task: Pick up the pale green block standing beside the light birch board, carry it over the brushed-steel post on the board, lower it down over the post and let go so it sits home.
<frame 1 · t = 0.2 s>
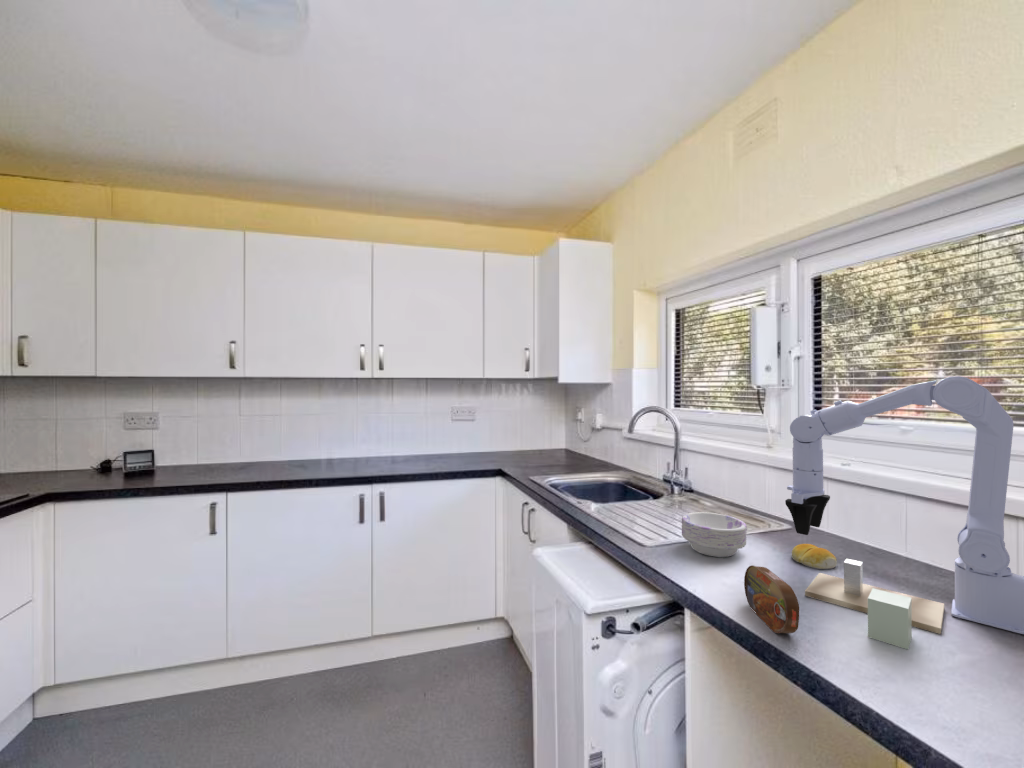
hand: (808, 529, 102), 10 cm above the countertop, tool pointing down, fingers open, 7 cm apart
board: (872, 602, 89), on the countertop
tin: (770, 621, 83), on the countertop
post: (853, 597, 91), resting on board
pale green block: (889, 636, 77), on the countertop
paper bowls: (713, 551, 117), on the countertop
bread roll: (813, 563, 109), on the countertop
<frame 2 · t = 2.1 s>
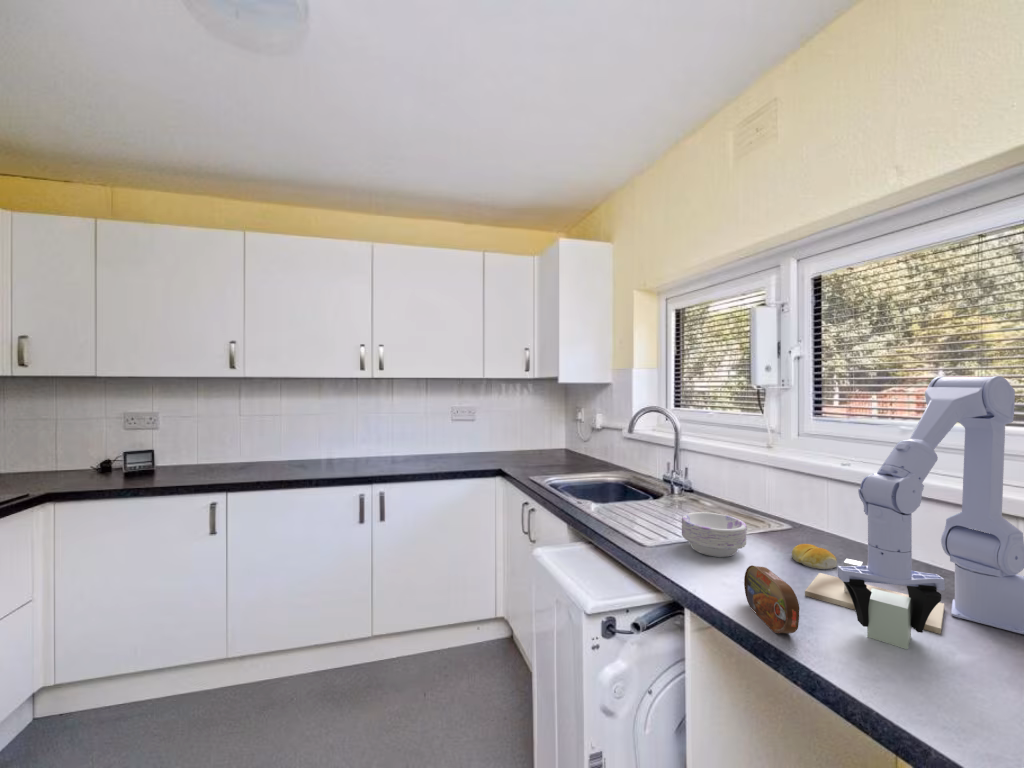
hand: (889, 626, 77), 2 cm above the countertop, tool pointing down, fingers open, 7 cm apart
pale green block: (889, 636, 77), on the countertop, touching gripper
everything else where it was.
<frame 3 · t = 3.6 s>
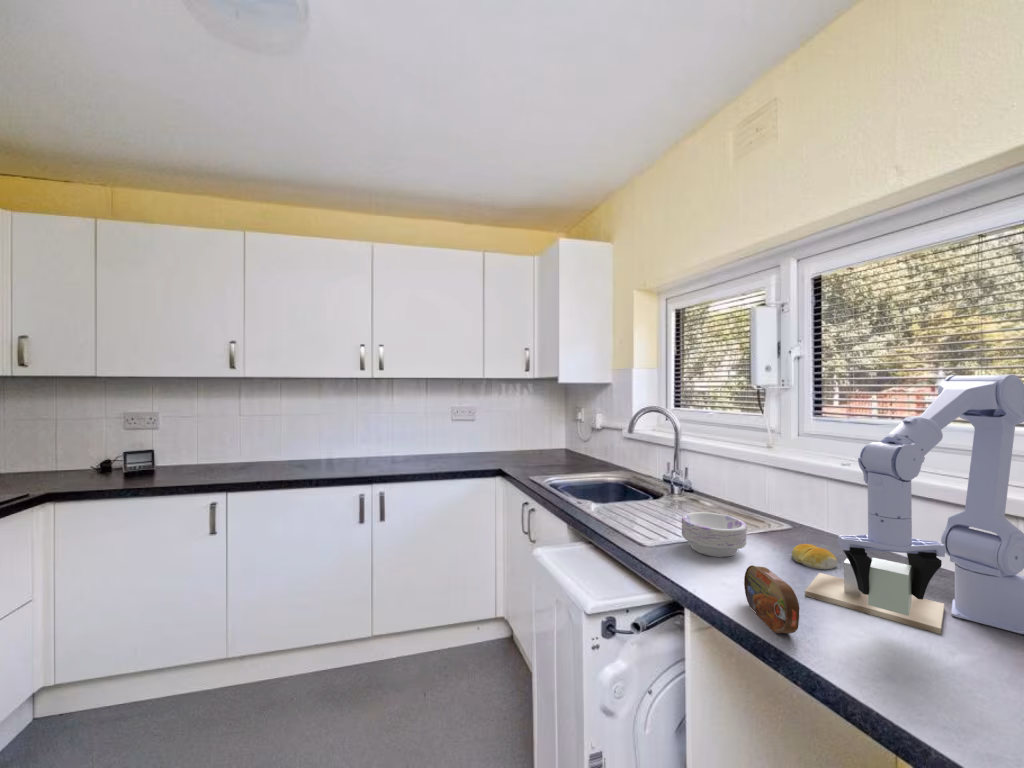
hand: (889, 594, 77), 7 cm above the countertop, tool pointing down, fingers closed on pale green block, 7 cm apart
pale green block: (889, 604, 77), point 5 cm above the countertop, touching gripper
everything else where it was.
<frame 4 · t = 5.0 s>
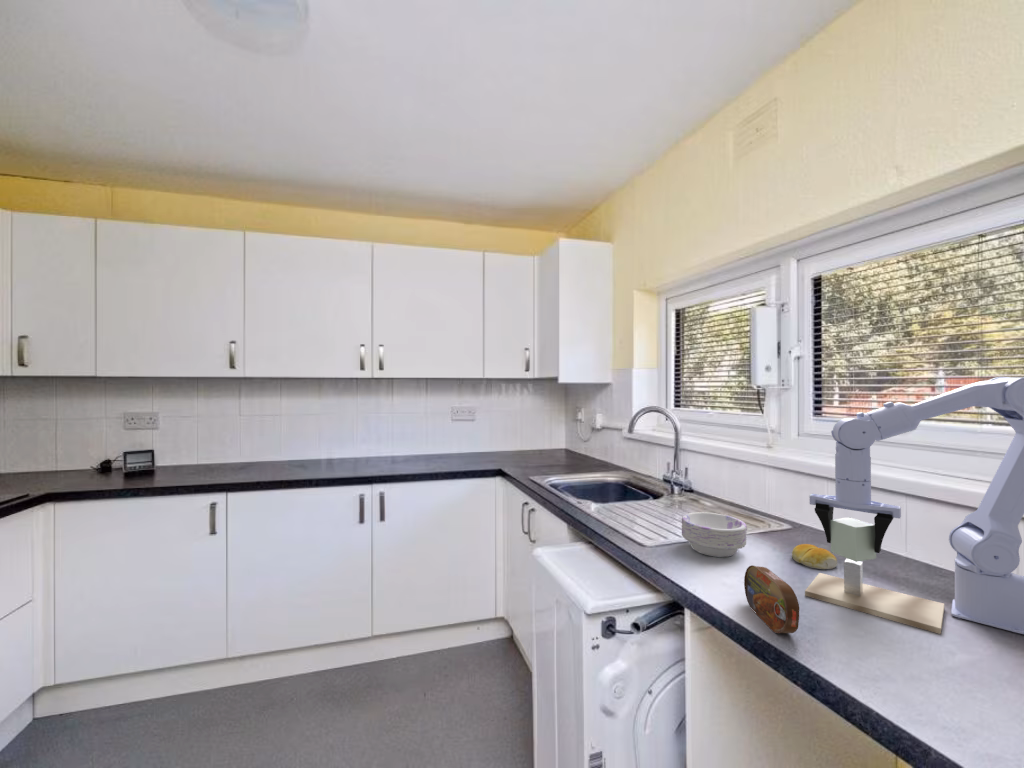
hand: (853, 546, 91), 10 cm above the countertop, tool pointing down, fingers closed on pale green block, 7 cm apart
pale green block: (853, 555, 91), point 8 cm above the countertop, touching gripper
everything else where it was.
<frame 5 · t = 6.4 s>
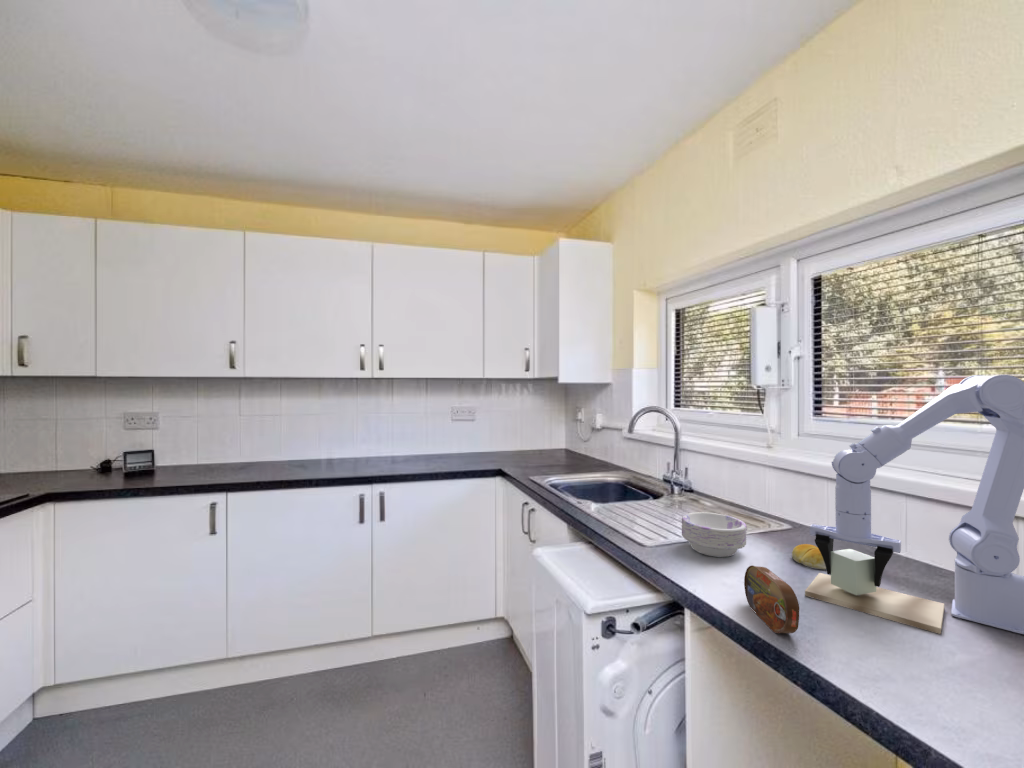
hand: (853, 578, 91), 4 cm above the countertop, tool pointing down, fingers closed on pale green block, 7 cm apart
pale green block: (853, 587, 91), point 2 cm above the countertop, touching gripper
everything else where it was.
when the fingers open (3 cm above the countertop, at t = 7.7 s): pale green block stays where it is, resting on board.
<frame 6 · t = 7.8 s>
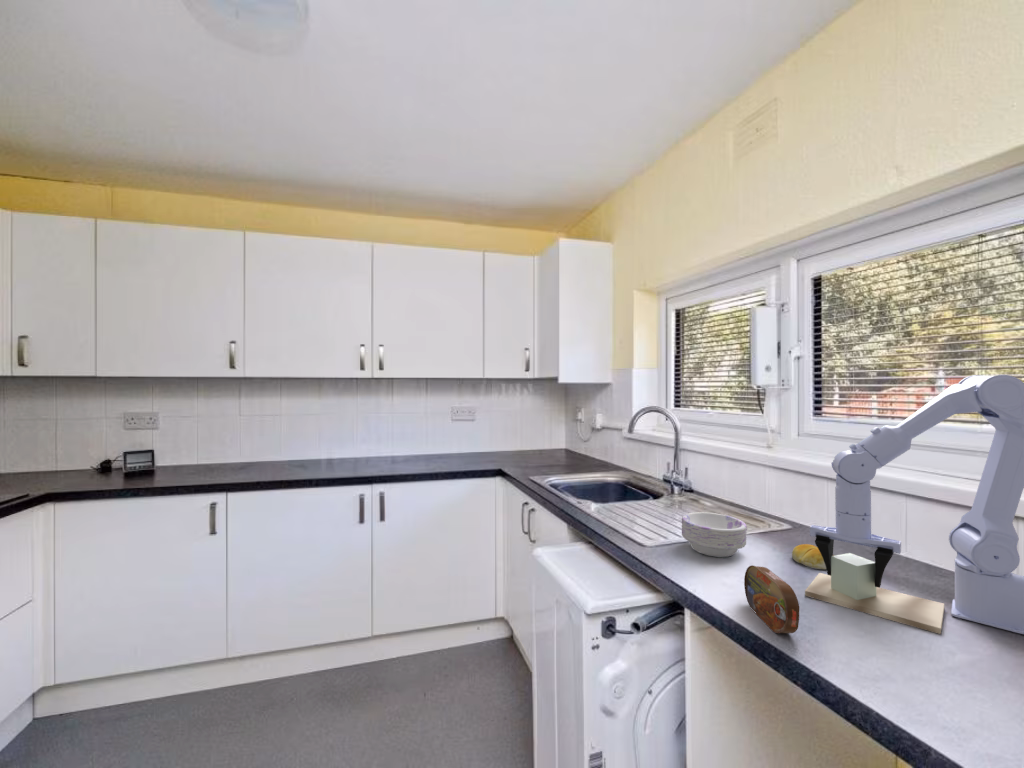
hand: (853, 579, 91), 4 cm above the countertop, tool pointing down, fingers open, 7 cm apart
pale green block: (853, 592, 91), point 1 cm above the countertop, touching board, gripper
everything else where it was.
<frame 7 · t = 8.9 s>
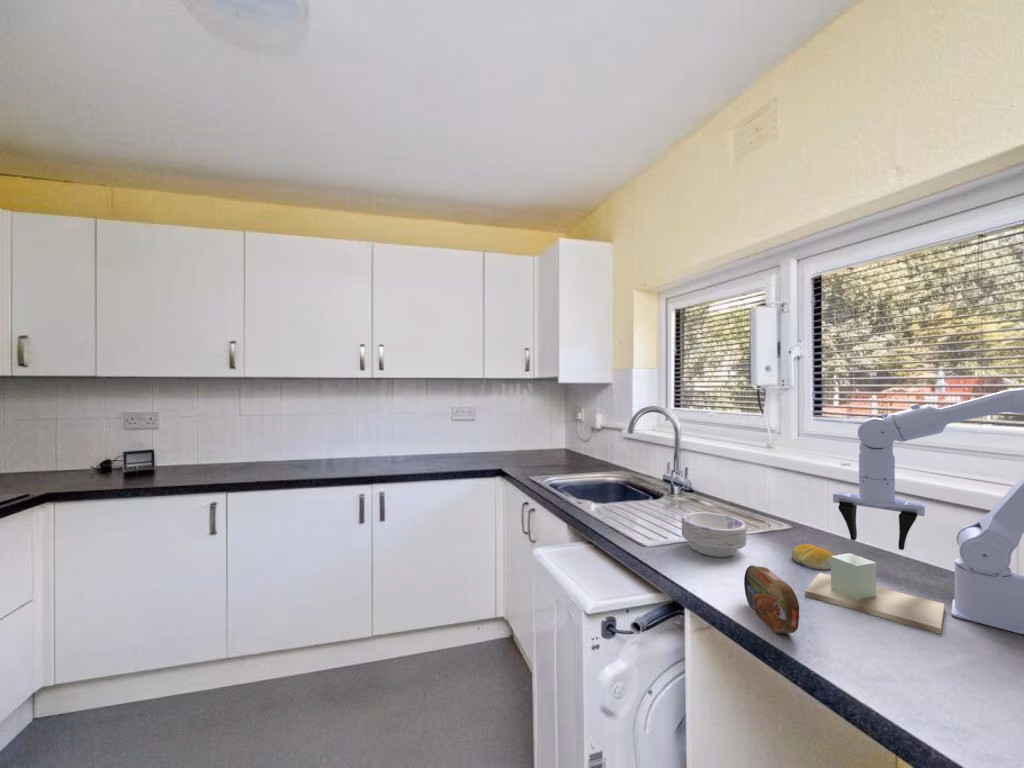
hand: (876, 543, 93), 10 cm above the countertop, tool pointing down, fingers open, 7 cm apart
pale green block: (853, 592, 91), point 1 cm above the countertop, touching board, post
everything else where it was.
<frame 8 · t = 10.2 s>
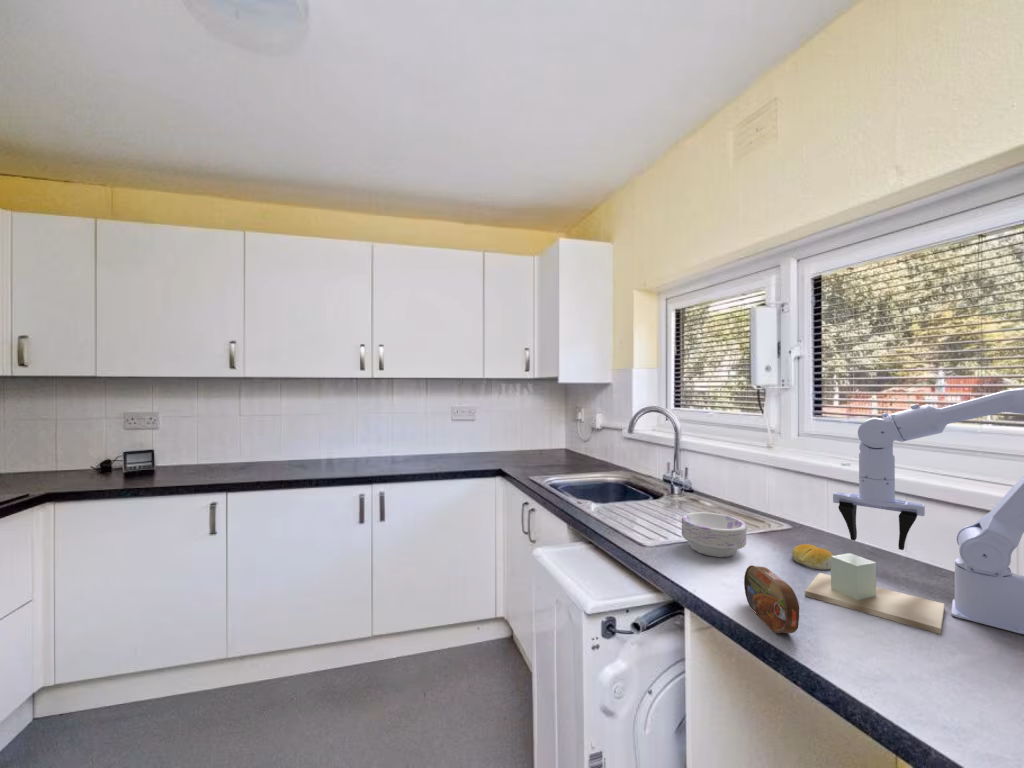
hand: (876, 543, 93), 10 cm above the countertop, tool pointing down, fingers open, 7 cm apart
nothing on the countertop moved.
at the end: pale green block 0.1 cm from the post (horizontally); pale green block point 1.0 cm above the countertop; the gripper is holding nothing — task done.
